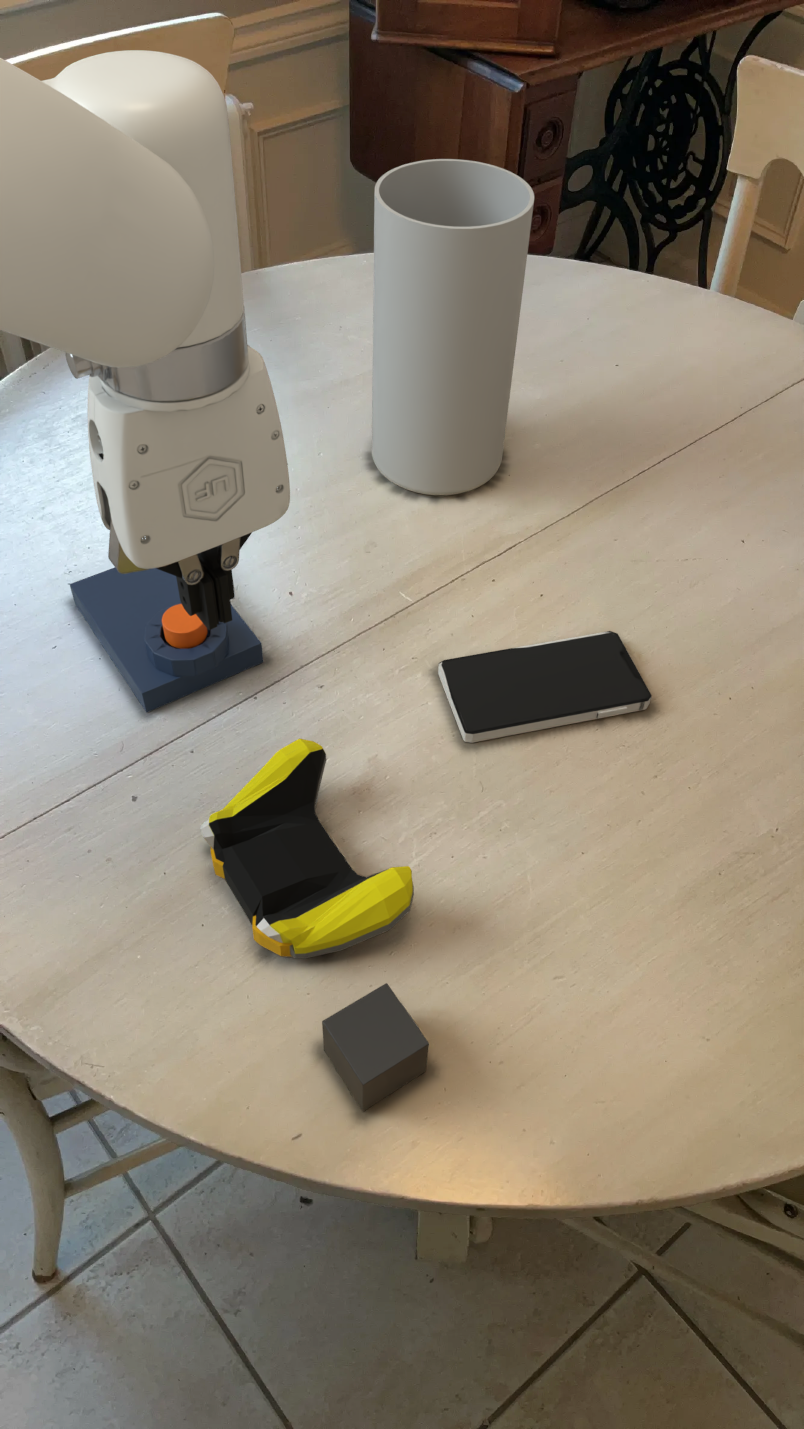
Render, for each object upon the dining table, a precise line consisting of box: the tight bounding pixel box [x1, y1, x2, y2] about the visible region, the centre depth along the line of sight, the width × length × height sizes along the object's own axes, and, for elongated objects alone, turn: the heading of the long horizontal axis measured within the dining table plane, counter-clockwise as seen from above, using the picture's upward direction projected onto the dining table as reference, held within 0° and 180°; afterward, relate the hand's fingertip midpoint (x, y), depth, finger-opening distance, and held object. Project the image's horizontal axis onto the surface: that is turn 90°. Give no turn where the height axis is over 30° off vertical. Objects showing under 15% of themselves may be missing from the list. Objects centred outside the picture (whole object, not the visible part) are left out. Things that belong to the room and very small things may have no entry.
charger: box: [321, 982, 430, 1112], centre depth 61 cm, size 5×4×4 cm
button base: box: [69, 566, 264, 713], centre depth 83 cm, size 15×10×4 cm
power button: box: [162, 604, 207, 649], centre depth 79 cm, size 3×3×2 cm
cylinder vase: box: [371, 158, 535, 496], centre depth 92 cm, size 12×12×25 cm
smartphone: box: [437, 630, 653, 744], centre depth 82 cm, size 8×1×15 cm
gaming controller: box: [200, 738, 415, 959], centre depth 68 cm, size 15×6×10 cm
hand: (209, 612), depth 66 cm, fingers closed
